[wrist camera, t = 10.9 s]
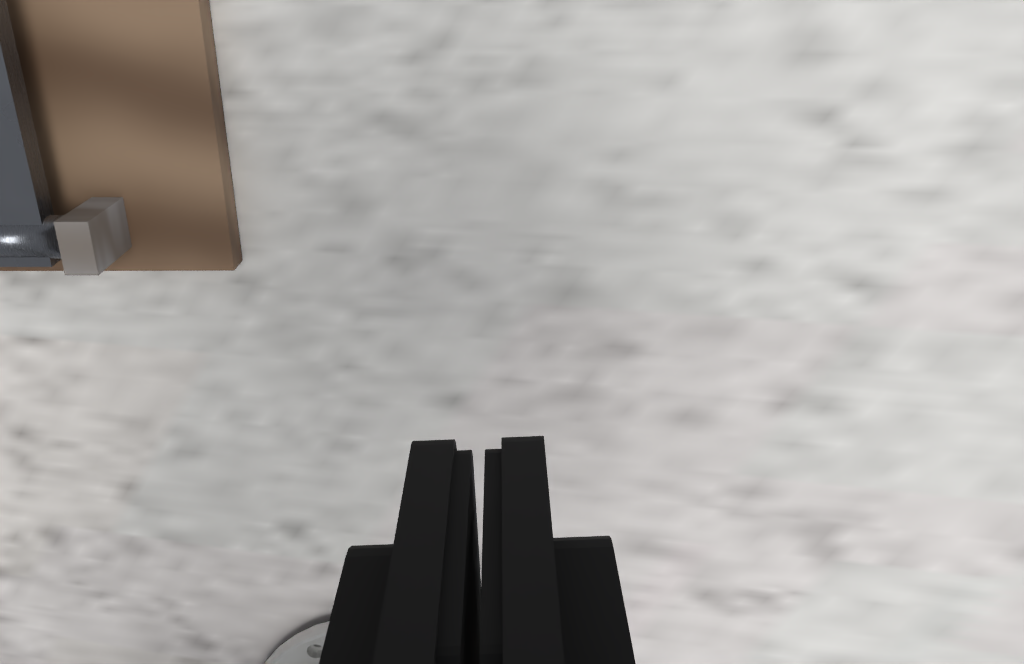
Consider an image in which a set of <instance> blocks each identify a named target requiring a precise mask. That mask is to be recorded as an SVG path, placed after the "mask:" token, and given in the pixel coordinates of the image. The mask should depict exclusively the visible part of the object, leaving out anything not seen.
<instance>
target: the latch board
mask: <svg viewBox="0 0 1024 664" xmlns="http://www.w3.org/2000/svg"><path fill="white" fill-rule="evenodd" d="M6 2H7V6H8V11H9V15H10V19H11V24H12V28H13V33H14V37H15V42H16V46H17V51H18V55H19V60H20V64H21V69H22V73H23V77H24V82H25V86H26V91H27V95H28V100H29V104H30V109H31V113H32V118H33V122H34V127H35V131H36V136H37V140H38V144H39V149H40V153H41V158H42V162H43V167H44V171H45V176H46V180H47V185H48V189H49V194H50V198H51V203H52V207H53V211H54V215H63V216H62V217H60V218H59V219H57V220H56V221H54V227H55V231H56V236H57V241H58V245H59V250H60V254H61V260H60V261H59V262H57V263H56V264H55V265H54V266H52V267H0V271H64V273H65V275H99V274H100V273H102V272H103V271H163V270H235V269H236V268H237V266H238V265H239V264H240V263H241V261H242V254H241V246H240V238H239V230H238V223H237V215H236V207H235V199H234V192H233V184H232V176H231V168H230V161H229V153H228V145H227V137H226V130H225V122H224V114H223V106H222V99H221V91H220V83H219V75H218V67H217V60H216V52H215V44H214V36H213V29H212V21H211V13H210V5H209V0H6Z"/></svg>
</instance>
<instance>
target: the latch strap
mask: <svg viewBox="0 0 1024 664" xmlns="http://www.w3.org/2000/svg"><path fill="white" fill-rule="evenodd" d="M62 216H63V215H54V211H53V207H52V203H51V198H50V194H49V189H48V185H47V180H46V176H45V171H44V167H43V162H42V158H41V153H40V149H39V144H38V140H37V136H36V131H35V127H34V122H33V118H32V113H31V109H30V104H29V100H28V95H27V91H26V86H25V82H24V77H23V73H22V69H21V64H20V60H19V55H18V51H17V46H16V42H15V37H14V33H13V28H12V24H11V19H10V15H9V11H8V6H7V2H6V0H0V267H52V266H54V265H55V264H56V263H57V262H59V261H60V260H61V254H60V250H59V245H58V241H57V236H56V231H55V227H54V221H56V220H57V219H59V218H60V217H62Z"/></svg>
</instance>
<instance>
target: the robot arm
mask: <svg viewBox="0 0 1024 664" xmlns="http://www.w3.org/2000/svg"><path fill="white" fill-rule="evenodd" d="M265 664H635V659H634V653H633V648H632V643H631V638H630V632H629V627H628V622H627V617H626V611H625V606H624V601H623V596H622V591H621V585H620V580H619V575H618V570H617V564H616V559H615V554H614V549H613V544H612V540H611V538H610V536H593V537H567V538H553V532H552V521H551V511H550V500H549V489H548V478H547V467H546V456H545V445H544V436H531V437H506V438H502V449H486V450H485V472H484V508H483V544H482V581H481V578H480V562H479V546H478V531H477V515H476V499H475V483H474V467H473V454H472V450H461V451H457V448H456V442H455V440H429V441H413V442H412V444H411V449H410V454H409V460H408V466H407V471H406V477H405V483H404V488H403V494H402V500H401V505H400V511H399V517H398V522H397V528H396V534H395V539H394V544H388V545H362V546H351V547H350V548H349V549H348V552H347V555H346V558H345V562H344V566H343V570H342V574H341V578H340V582H339V586H338V589H337V593H336V597H335V601H334V605H333V609H332V613H331V617H330V621H328V622H324V623H321V624H317V625H314V626H312V627H310V628H308V629H306V630H304V631H302V632H300V633H298V634H296V635H294V636H293V637H291V638H290V639H289V640H287V641H286V642H285V643H283V644H282V645H280V646H279V647H278V648H277V649H276V650H275V652H274V653H273V654H272V655H271V656H270V657H269V658H268V659H267V661H266V662H265Z"/></svg>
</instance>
